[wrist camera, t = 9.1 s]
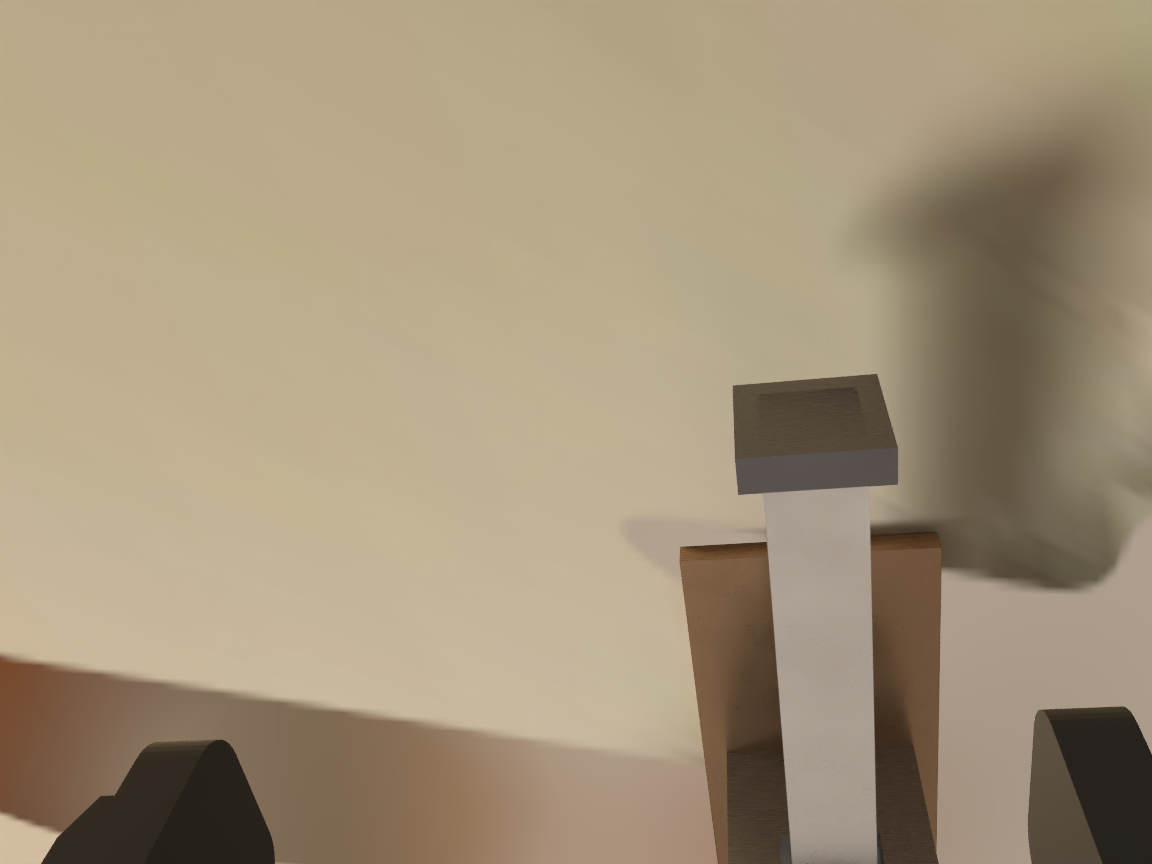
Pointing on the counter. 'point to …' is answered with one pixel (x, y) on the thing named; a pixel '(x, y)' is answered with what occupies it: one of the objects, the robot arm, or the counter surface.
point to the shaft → (821, 593)
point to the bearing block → (752, 708)
